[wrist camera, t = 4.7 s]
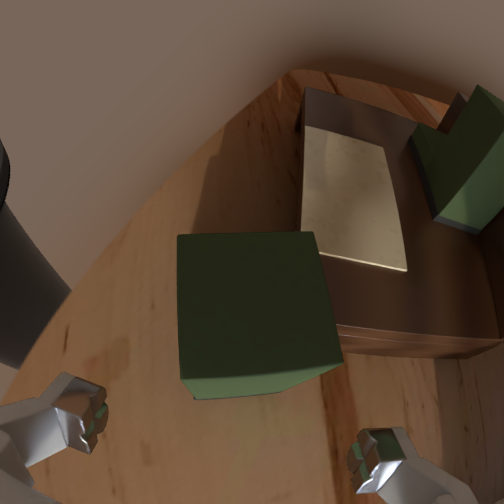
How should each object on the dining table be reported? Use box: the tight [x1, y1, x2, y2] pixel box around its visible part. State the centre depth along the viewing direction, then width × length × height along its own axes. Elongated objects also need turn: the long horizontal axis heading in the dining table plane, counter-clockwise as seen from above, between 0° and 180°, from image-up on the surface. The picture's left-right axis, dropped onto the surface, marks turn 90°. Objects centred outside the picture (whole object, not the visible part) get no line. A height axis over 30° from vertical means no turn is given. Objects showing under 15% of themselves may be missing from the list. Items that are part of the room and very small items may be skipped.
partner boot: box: [408, 85, 504, 235], centre depth 18 cm, size 5×10×10 cm, turn 172°
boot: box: [177, 231, 344, 400], centre depth 15 cm, size 5×10×10 cm, turn 7°
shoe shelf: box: [295, 87, 504, 359], centre depth 21 cm, size 17×24×11 cm
